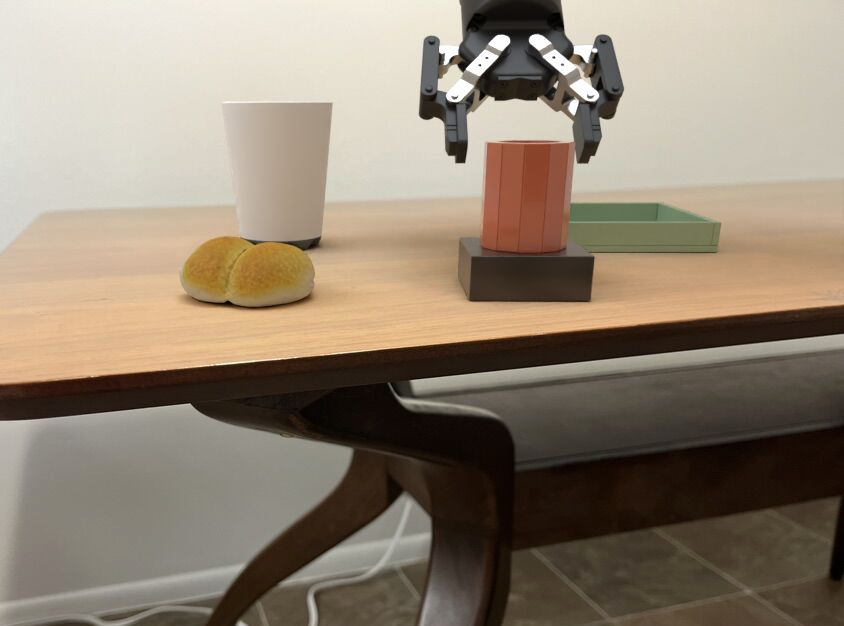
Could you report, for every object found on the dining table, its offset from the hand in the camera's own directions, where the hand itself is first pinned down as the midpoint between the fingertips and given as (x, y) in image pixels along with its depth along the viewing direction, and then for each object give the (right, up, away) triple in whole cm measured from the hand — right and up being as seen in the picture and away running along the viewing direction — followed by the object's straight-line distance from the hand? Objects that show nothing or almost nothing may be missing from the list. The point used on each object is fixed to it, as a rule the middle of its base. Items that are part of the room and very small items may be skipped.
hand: (523, 155), depth 56 cm
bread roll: (-19, -10, 0) cm, 21 cm away
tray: (+12, -2, +22) cm, 25 cm away
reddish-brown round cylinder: (0, -6, 0) cm, 6 cm away
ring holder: (0, -9, +1) cm, 9 cm away
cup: (-18, -3, +20) cm, 27 cm away
